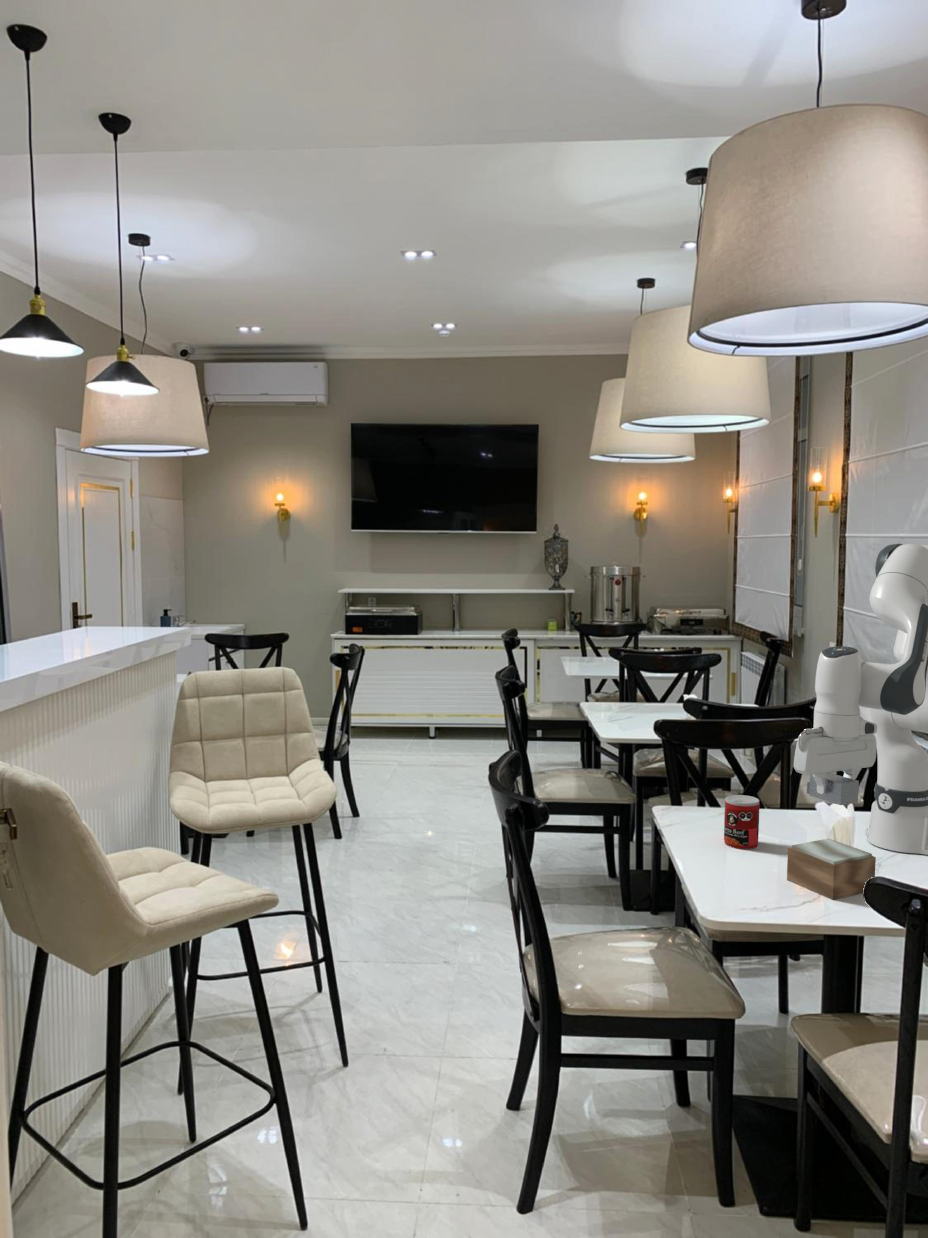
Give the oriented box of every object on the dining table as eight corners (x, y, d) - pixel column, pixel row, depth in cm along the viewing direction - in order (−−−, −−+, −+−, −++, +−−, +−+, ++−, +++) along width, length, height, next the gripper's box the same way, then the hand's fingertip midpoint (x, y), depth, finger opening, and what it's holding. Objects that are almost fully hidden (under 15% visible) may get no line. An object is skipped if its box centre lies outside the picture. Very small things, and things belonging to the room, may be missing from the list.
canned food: (717, 843, 212) (718, 798, 211) (737, 837, 217) (739, 793, 216) (744, 852, 206) (745, 805, 205) (764, 845, 211) (766, 800, 210)
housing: (857, 802, 182) (858, 781, 181) (840, 805, 179) (841, 783, 179) (820, 791, 190) (821, 770, 190) (803, 793, 188) (804, 772, 188)
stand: (827, 871, 193) (828, 837, 193) (874, 890, 183) (875, 854, 182) (786, 880, 188) (788, 845, 188) (832, 900, 177) (834, 862, 177)
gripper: (812, 732, 176) (809, 801, 176) (883, 724, 185) (880, 790, 185) (787, 726, 181) (785, 793, 182) (857, 719, 190) (855, 783, 191)
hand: (833, 791), depth 184 cm, fingers closed on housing, 5 cm apart
